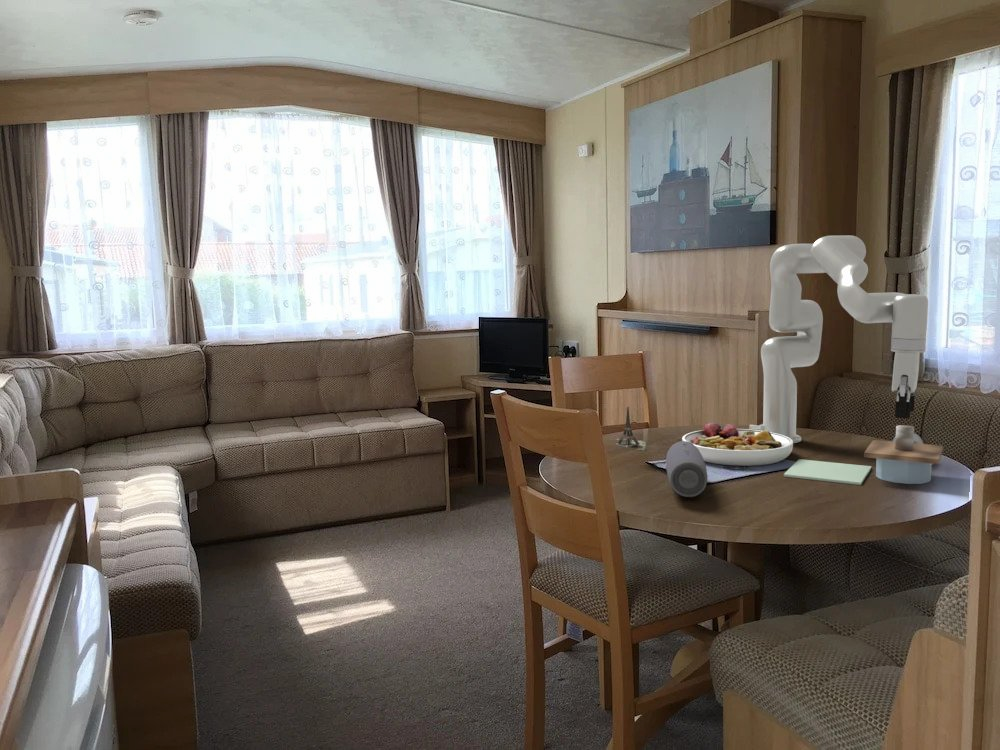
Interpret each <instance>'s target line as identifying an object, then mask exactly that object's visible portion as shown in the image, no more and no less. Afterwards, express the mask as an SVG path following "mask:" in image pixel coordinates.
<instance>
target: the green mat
mask: <svg viewBox="0 0 1000 750" xmlns="http://www.w3.org/2000/svg"><path fill="white" fill-rule="evenodd" d="M871 470H872V466H871V465H862V464H861V465H860V464H852V463H842V462H841V463H840V462H832V461H820V460H810V459H803V458H802V459H800V458H798V459H797V461H795V463H794V464H792V465H791V466H790V468H788V469H787V470H786V471H785V472H784V473H783V477H785V478H794V479H803V480H811V481H812V480H813V481H820V482H821V481H822V482H829V483H830V482H832V483H838V484H839V483H840V484H849V485H857V486H862V484H863V482H864V481H865V479H866V478H867V476H868V475H869V473H870V471H871Z"/></svg>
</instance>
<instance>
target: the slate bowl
mask: <svg viewBox="0 0 1000 750" xmlns="http://www.w3.org/2000/svg"><path fill="white" fill-rule="evenodd" d="M875 459H876V462H875V477H877V478H878V479H880V480H882V481H886V482H890V483H894V484H895V483H896V484H907V485H918V484H919V485H920V484H921V485H923V484H927V483H930V482H931V480H932V466H933V465H932V464H931V463H920V462H910V461H899V460H888V459H878V458H875Z"/></svg>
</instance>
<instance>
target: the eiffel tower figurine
mask: <svg viewBox="0 0 1000 750" xmlns="http://www.w3.org/2000/svg"><path fill="white" fill-rule="evenodd" d="M625 418H626V419H625V420H626V421H625V426H624V431H623V433H622V434H621V437H620V438H616V439H615V440H617V442H616V443H615V445H617V446H621V447H626V448H631V447H635V446H640V447H638V448H636V450H637V451H645V450H646V447H647V443H648V442H647V441H644V440H637V439H636V437H635V435H634V433H633V430H632V427H631V421H630V406H629V405H627V406H626V417H625ZM622 441H625V442H622Z"/></svg>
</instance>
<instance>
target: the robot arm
mask: <svg viewBox="0 0 1000 750" xmlns="http://www.w3.org/2000/svg"><path fill="white" fill-rule="evenodd" d="M866 255H867V249H866V245H865V243H864V241H863V240H862V239H861V238H859V237H858V236H855V235H848V234H847V235H826V236H825V235H824V236H821V237H819V238H818V239H817V240H815V242H813V243H791V244H785V245H783V246H780V247H778V248H776V250H775V251H774V253H773V254H772V256H771V258H770V263H769V272H770V273H769V275H770V281H771V289H770V301H769V312H768V324H769V328H770V329H771V330H772V331H774V332H777V333H796V335H794V336H793V335H789V336H788V335H787V336H774V337H770V338H768V339H767V340H766V341H764V343H763V344H761V347H760V358H761V364H762V371H763V403H762V407H763V409H762V411H763V413H762V417H763V418H762V420H763V421H762V423H761V424H759V425H758V424H757V425H756V424H749V426H748V429H749V430H759V431H767V432H768V431H769V432H772V433H777V434H781V435H784V436H787V437H789V438H791V439H792V440H793V444H797V443H800V442H801V441H802V436H800V435H798V434H797V409H798V408H797V405H798V403H797V401H798V400H797V399H798V398H797V397H798V396H797V395H798V383H797V379H796V377H795V374H794V373H793V371H792V369H793V368H805V367H810V366H814V364H815V363H817V361H818V360H819V357H820V352H821V345H822V335H823V333H822V332H823V323H824V322H823V321H824V316H823V310H822V308H821V307H820V305H819V303H818V302H816V301H814V300H811V299H802V289H803V288H802V283H801V280H800V279H799V277H798V275H797V274H824V273H825V274H827V275H828V276H829V277H830V278H831V279H832V280H833V281H834V283H836V284H837V289H836V290H837V297H838V301H839V304H840V305H841V307H842V308H843V309H844V310H845V311H846V312H847V313H848V314H849V315H850V317H853V319H854V320H856V321H857V322H859V323H863V324H875V323H876V324H881V323H884V324H885V323H891V339H890V340H891V341H890V351H891V352H893V353H894V357H893V358H894V360H893V368H892V380H891V381H892V382H891V391H892V393H895V392H896V391H897V394H896V401H895V409H894V410H895V411H894V417H895V418H897V419H910V418H911V413H912V412H914V411H915V398H916V397H915V391H916V389H917V387H918V386H917V385H918V379H919V371H920V370H919V369H920V355H921V353H926V350H927V349H926V348H927V330H928V314H929V313H928V312H929V311H928V310H929V300H928V297H927V296H926V295H924V294H917V293H916V294H915V293H913V294H912V293H911V294H910V293H908V294H907V293H902V292H895V291H894V292H893V291H892V292H891V291H890V292H867V291H865V290H864V289H863V288H862V287H861V286H860V285H861V284H862V283H863V282H864V281H865V279H866V278H867V275H868V273H869V268H868V267H869V266H868V264H867V263H866V262H865V261H864V259H865V258H866Z"/></svg>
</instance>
